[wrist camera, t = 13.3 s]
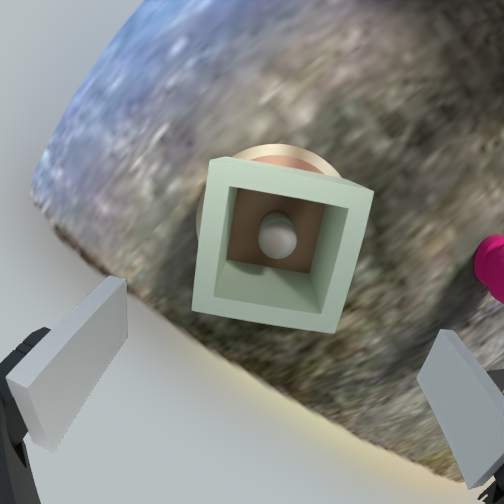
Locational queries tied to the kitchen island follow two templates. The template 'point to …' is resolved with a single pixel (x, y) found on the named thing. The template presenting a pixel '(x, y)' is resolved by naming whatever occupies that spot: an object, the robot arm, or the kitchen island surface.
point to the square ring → (274, 279)
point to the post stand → (275, 215)
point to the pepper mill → (491, 265)
